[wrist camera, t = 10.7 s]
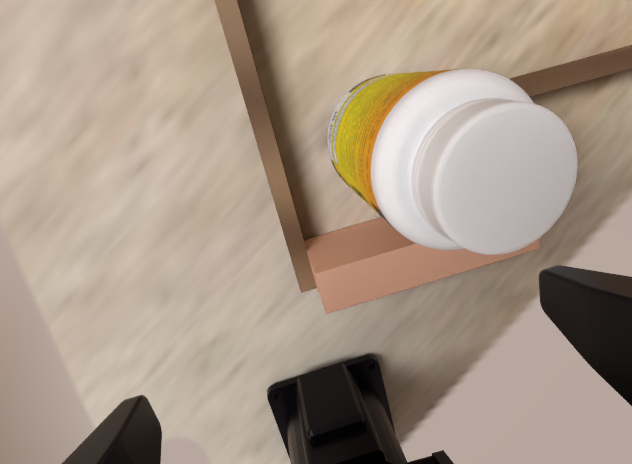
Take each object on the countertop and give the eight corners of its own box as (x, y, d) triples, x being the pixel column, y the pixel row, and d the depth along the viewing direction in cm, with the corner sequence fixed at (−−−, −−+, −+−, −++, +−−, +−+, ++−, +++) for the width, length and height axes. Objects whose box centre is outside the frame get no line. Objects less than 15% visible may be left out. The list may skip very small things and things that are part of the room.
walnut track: (658, 171, 23) (685, 176, 22) (297, 279, 22) (301, 292, 20) (683, -254, 17) (723, -285, 15) (173, -139, 15) (166, -162, 14)
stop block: (490, 221, 22) (539, 248, 19) (312, 274, 22) (326, 313, 18) (487, 186, 22) (537, 207, 18) (302, 240, 21) (315, 273, 17)
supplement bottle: (311, 179, 20) (372, 262, 11) (344, 59, 19) (450, 29, 9) (414, 204, 21) (552, 299, 12) (453, 94, 20) (647, 101, 10)
